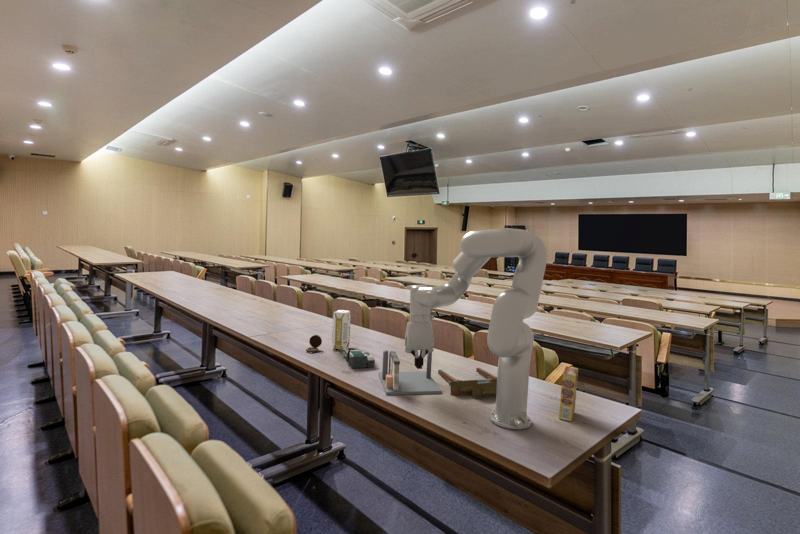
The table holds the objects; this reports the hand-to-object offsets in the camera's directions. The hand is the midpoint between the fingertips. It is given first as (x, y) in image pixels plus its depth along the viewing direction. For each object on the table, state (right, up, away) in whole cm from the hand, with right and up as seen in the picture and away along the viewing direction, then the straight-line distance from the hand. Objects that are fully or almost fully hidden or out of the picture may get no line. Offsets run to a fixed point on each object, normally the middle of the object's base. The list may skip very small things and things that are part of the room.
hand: (418, 367), depth 150 cm
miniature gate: (+22, -10, +9) cm, 26 cm away
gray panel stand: (-4, -8, +7) cm, 11 cm away
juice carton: (-37, -4, +53) cm, 65 cm away
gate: (-9, -6, +3) cm, 12 cm away
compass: (-48, -4, +47) cm, 67 cm away
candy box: (+48, -12, -17) cm, 52 cm away
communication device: (-27, -6, +35) cm, 44 cm away
